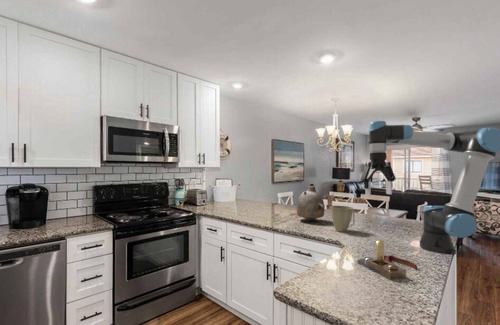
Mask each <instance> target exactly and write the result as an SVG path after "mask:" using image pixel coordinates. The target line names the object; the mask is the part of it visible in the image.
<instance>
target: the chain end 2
mask: <svg viewBox="0 0 500 325" xmlns="http://www.w3.org/2000/svg"><path fill="white" fill-rule="evenodd" d="M390 262H391V261H390ZM390 262H387V261H385V260H384V265H378V264H376V258H373V259H371V260H366V264H367V265H369V266H371V267H373V268H375V269H377V270H379V271H380V274H379V275H380V276H382V277H384V278H385V279H388V280H389V281H391V280H399V279H405V278H407V269H405V268H403V267H401V266H399V265H396V264H394V263H392V262H391V263H390Z"/></svg>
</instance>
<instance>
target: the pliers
mask: <svg viewBox="0 0 500 325" xmlns="http://www.w3.org/2000/svg"><path fill="white" fill-rule="evenodd" d="M384 260H385V261H387V262H390V263H392V262H394V263H398V264H401V265H405V266H408V267H410V268H412V269H413V270H415V271H416V270H417V271H418V266H417V264H415V263H414V262H412V261H410V260H407V259H403V258H401V257H400V258H399V257H396V256H394V254H387V253H385V252H384Z"/></svg>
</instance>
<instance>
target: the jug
mask: <svg viewBox="0 0 500 325" xmlns="http://www.w3.org/2000/svg"><path fill="white" fill-rule="evenodd" d="M296 213H297V215H298V217H301V218H304V219H306V220H308V221H309V222H312V221H315V220H316V219H319V218H323V217H324V215H325V202H324V200H323V196H321V194H320V193H319V192H318V191H317V190H316V183H314V182H313V183H309V184H308V189H307V190H306V191H305V190H304V191H303V192H302V193H301V194H299V197H298V199H297V203H296Z"/></svg>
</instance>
